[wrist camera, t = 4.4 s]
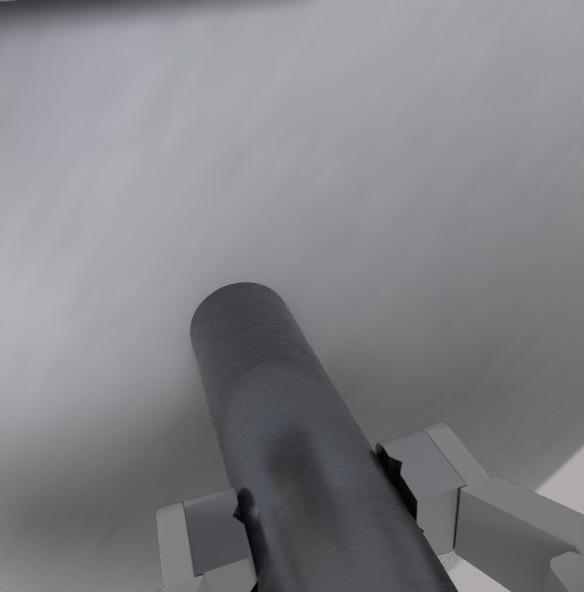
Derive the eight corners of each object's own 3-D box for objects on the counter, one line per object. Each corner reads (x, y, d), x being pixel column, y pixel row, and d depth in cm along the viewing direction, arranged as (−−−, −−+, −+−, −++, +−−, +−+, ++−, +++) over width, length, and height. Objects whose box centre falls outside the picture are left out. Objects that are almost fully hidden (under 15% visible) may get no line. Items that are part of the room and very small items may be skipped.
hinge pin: (304, 246, 16) (766, 808, 5) (314, 367, 18) (647, 940, 7) (150, 279, 15) (293, 1070, 4) (182, 402, 17) (328, 1127, 6)
